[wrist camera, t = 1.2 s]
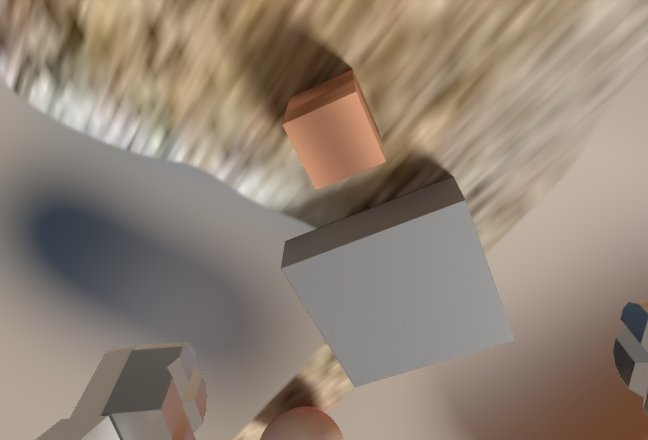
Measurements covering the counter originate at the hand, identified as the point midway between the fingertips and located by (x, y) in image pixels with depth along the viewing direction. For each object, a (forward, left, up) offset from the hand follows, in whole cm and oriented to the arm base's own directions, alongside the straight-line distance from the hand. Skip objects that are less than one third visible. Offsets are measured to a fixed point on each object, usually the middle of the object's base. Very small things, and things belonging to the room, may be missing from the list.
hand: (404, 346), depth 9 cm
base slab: (+4, +19, -28) cm, 34 cm away
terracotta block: (+3, +3, -28) cm, 28 cm away
